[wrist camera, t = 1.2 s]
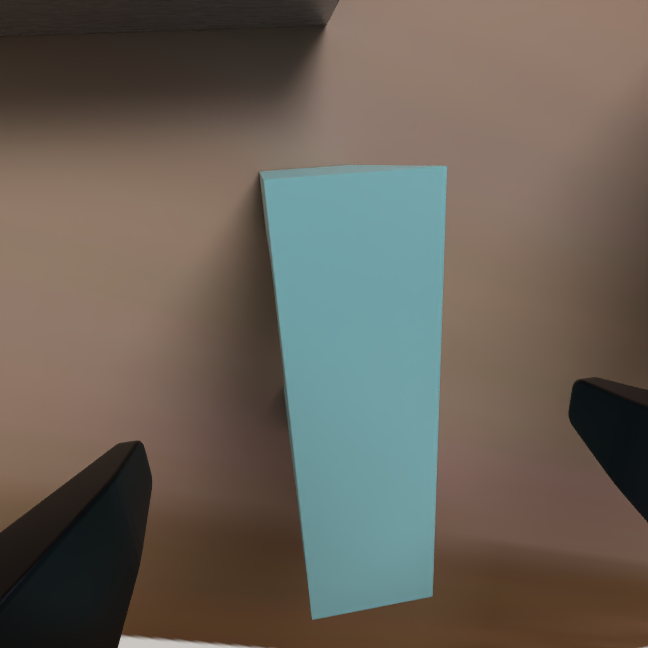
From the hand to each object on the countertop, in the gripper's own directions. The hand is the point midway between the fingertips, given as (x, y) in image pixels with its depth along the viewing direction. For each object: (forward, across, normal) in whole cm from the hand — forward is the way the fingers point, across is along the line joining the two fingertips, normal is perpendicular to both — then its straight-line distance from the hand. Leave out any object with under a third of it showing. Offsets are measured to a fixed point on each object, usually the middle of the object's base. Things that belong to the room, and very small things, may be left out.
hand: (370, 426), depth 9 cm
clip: (+8, 0, 0) cm, 8 cm away
